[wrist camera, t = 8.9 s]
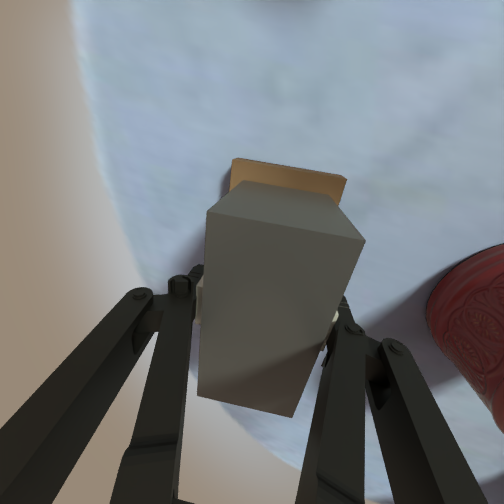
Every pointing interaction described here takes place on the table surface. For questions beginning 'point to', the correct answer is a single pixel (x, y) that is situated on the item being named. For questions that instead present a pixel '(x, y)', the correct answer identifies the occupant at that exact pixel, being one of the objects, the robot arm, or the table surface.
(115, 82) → the table surface
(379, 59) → the table surface
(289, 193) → the grey bevelled block
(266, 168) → the block
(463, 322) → the canister
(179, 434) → the robot arm
